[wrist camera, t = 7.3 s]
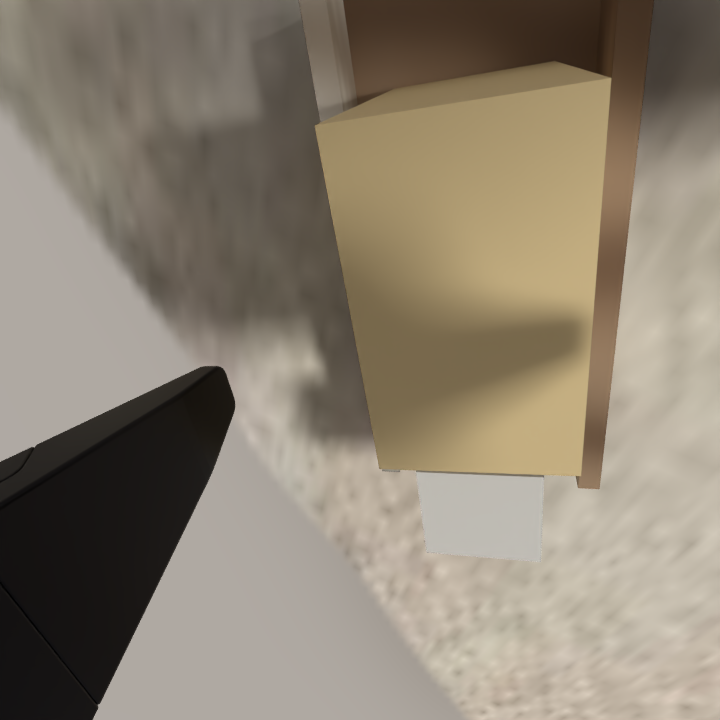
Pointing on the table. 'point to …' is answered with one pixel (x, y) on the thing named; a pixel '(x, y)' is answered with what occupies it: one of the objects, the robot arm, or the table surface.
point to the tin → (482, 514)
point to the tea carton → (473, 264)
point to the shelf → (494, 53)
